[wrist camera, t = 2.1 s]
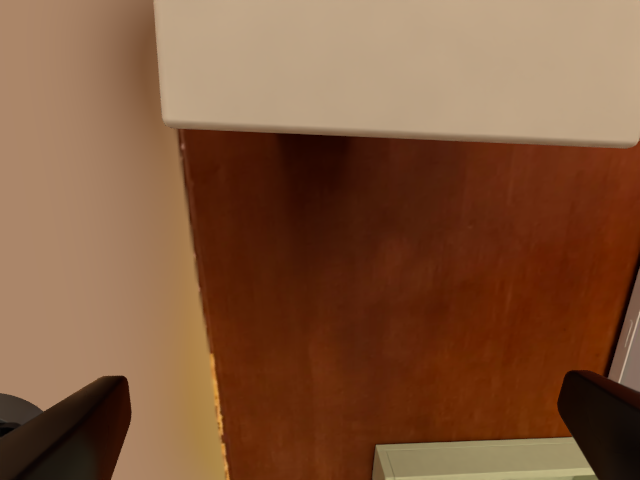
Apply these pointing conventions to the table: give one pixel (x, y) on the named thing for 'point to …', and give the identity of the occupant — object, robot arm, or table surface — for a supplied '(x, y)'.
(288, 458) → the table surface
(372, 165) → the table surface
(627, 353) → the smartphone
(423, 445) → the tray
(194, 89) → the white book
